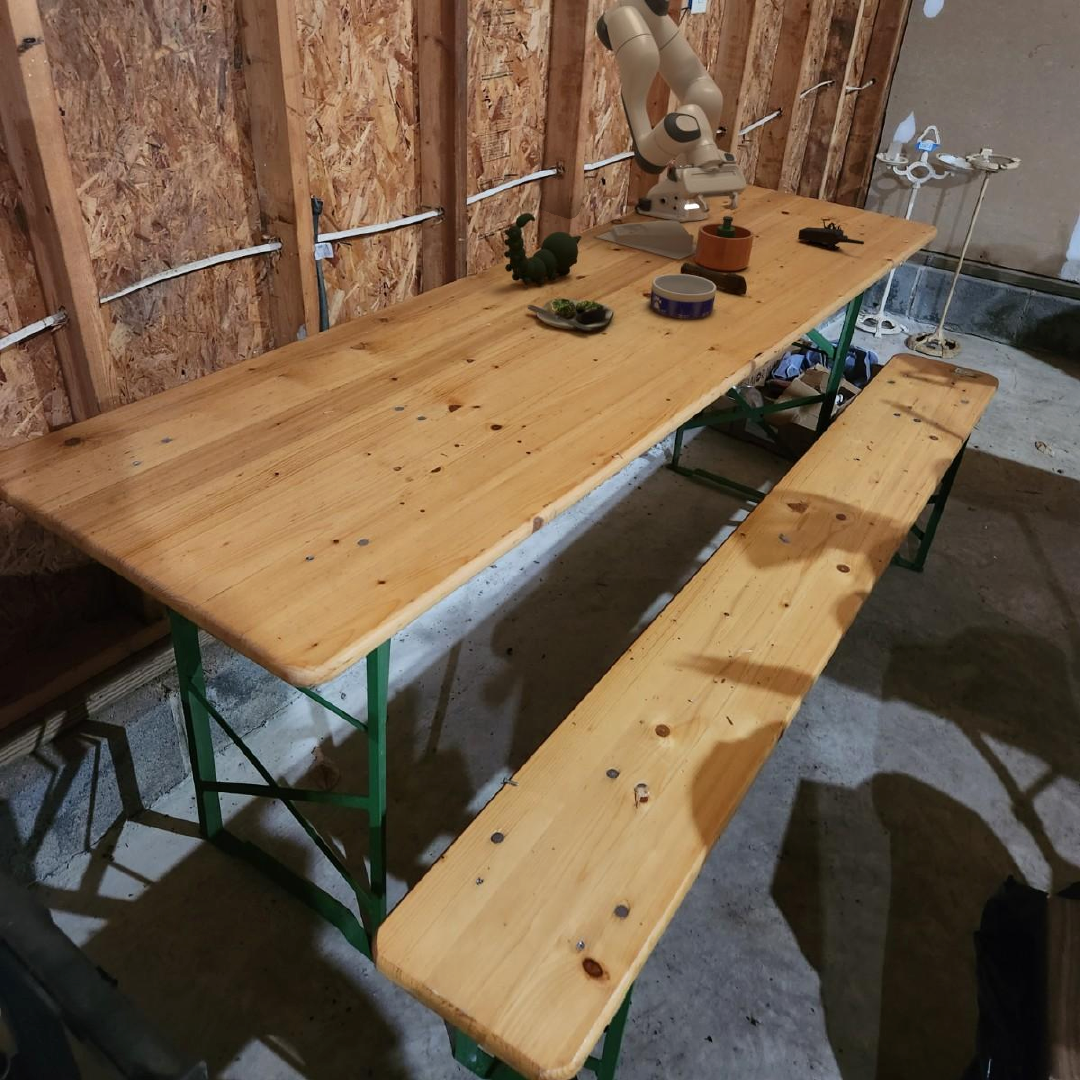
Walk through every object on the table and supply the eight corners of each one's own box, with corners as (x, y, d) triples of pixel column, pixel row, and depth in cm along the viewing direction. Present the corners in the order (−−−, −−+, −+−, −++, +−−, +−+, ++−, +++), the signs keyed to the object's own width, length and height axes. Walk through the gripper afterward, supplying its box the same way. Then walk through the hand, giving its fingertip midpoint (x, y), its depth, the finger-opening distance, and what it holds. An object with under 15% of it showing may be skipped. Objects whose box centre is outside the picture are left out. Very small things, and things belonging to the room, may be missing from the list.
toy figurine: (523, 301, 227) (593, 272, 240) (522, 224, 215) (595, 198, 229) (497, 290, 232) (567, 262, 246) (494, 214, 220) (568, 190, 234)
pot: (690, 267, 250) (695, 234, 245) (699, 252, 262) (704, 220, 257) (744, 276, 247) (750, 242, 242) (750, 260, 259) (756, 227, 253)
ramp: (595, 237, 268) (596, 218, 265) (624, 226, 279) (626, 208, 276) (678, 260, 255) (681, 240, 252) (706, 248, 266) (709, 228, 263)
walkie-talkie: (808, 230, 279) (872, 239, 268) (800, 248, 279) (863, 258, 268) (803, 218, 274) (868, 227, 263) (794, 236, 274) (859, 245, 262)
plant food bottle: (710, 262, 252) (717, 218, 246) (713, 257, 256) (720, 214, 250) (728, 265, 251) (736, 221, 245) (730, 260, 255) (738, 216, 249)
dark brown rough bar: (677, 278, 242) (680, 260, 240) (686, 275, 245) (689, 257, 242) (739, 298, 232) (742, 280, 230) (747, 295, 235) (751, 277, 232)
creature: (832, 234, 289) (814, 230, 285) (839, 217, 286) (821, 213, 282) (849, 242, 283) (830, 238, 279) (856, 224, 280) (837, 220, 277)
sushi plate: (516, 325, 209) (517, 305, 206) (539, 300, 223) (540, 281, 220) (599, 339, 205) (601, 319, 202) (617, 312, 219) (619, 293, 216)
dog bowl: (636, 305, 224) (639, 280, 221) (676, 292, 233) (679, 268, 230) (686, 324, 215) (689, 299, 212) (725, 310, 224) (729, 286, 221)
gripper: (679, 159, 245) (694, 206, 243) (741, 155, 253) (756, 201, 252) (667, 172, 251) (683, 219, 249) (728, 168, 259) (743, 213, 257)
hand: (720, 210), depth 250 cm, fingers open, 8 cm apart
